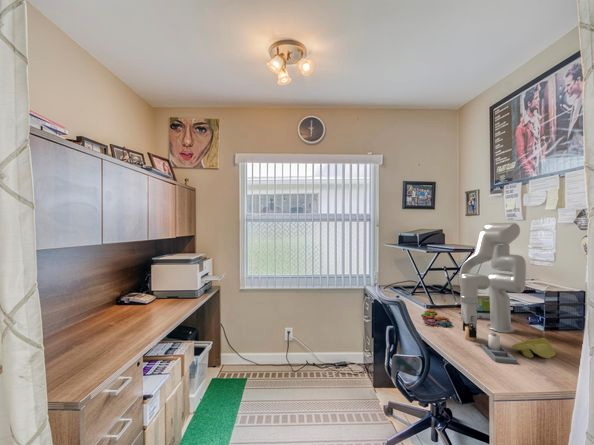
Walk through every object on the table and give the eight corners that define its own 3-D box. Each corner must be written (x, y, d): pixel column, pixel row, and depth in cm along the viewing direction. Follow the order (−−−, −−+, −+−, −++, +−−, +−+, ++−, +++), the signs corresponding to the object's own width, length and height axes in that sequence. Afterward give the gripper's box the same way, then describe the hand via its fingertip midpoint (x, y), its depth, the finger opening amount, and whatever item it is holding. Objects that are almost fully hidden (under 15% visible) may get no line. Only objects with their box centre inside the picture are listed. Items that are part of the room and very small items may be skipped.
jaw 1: (464, 339, 150) (463, 324, 150) (473, 340, 149) (473, 324, 149) (466, 342, 146) (466, 327, 146) (476, 343, 145) (476, 327, 145)
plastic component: (524, 340, 142) (547, 337, 135) (532, 357, 139) (557, 354, 132) (507, 347, 131) (531, 343, 124) (515, 365, 128) (541, 362, 120)
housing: (480, 348, 138) (480, 343, 138) (501, 350, 136) (501, 345, 136) (493, 363, 123) (493, 357, 123) (518, 366, 121) (518, 360, 121)
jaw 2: (487, 348, 136) (486, 331, 136) (497, 349, 135) (497, 332, 135) (490, 352, 132) (490, 335, 132) (501, 353, 131) (501, 335, 131)
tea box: (472, 318, 184) (471, 295, 184) (465, 314, 194) (464, 291, 194) (497, 319, 182) (497, 295, 183) (489, 314, 192) (488, 292, 192)
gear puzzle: (418, 312, 201) (418, 306, 201) (444, 313, 197) (444, 307, 197) (424, 327, 172) (424, 320, 172) (455, 329, 167) (455, 322, 167)
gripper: (456, 296, 157) (456, 328, 157) (466, 303, 140) (466, 339, 140) (471, 296, 155) (472, 329, 155) (483, 304, 139) (484, 341, 138)
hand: (469, 334), depth 147 cm, fingers open, 9 cm apart
